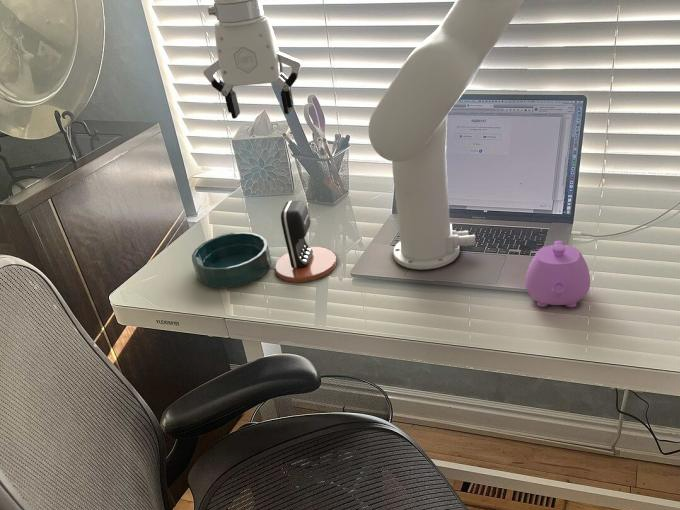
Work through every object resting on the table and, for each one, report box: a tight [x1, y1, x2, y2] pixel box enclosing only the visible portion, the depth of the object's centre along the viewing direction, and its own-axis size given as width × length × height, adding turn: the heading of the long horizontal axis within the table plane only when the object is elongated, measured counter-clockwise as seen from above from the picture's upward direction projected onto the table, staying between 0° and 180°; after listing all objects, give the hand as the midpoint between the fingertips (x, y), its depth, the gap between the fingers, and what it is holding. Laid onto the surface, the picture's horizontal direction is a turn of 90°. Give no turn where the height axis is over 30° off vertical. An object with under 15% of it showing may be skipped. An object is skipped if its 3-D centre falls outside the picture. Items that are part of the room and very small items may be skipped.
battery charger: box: [280, 200, 313, 268], centre depth 128 cm, size 7×4×11 cm, turn 175°
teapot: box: [524, 240, 591, 308], centre depth 111 cm, size 10×15×9 cm
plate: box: [274, 246, 337, 283], centre depth 131 cm, size 12×12×1 cm
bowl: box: [191, 231, 273, 288], centre depth 131 cm, size 14×14×4 cm
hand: (262, 113), depth 124 cm, fingers open, 9 cm apart
